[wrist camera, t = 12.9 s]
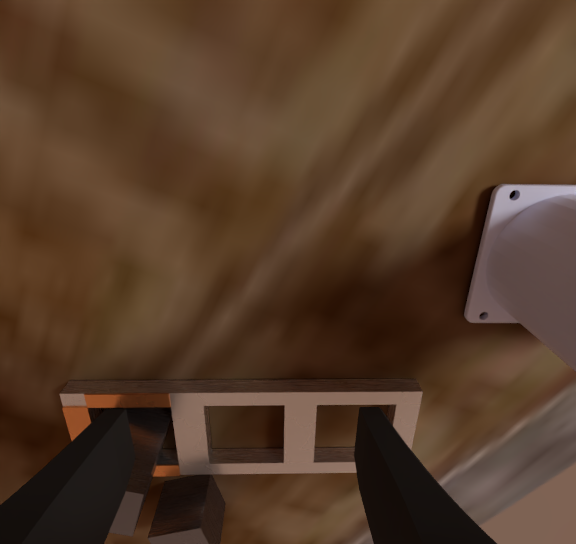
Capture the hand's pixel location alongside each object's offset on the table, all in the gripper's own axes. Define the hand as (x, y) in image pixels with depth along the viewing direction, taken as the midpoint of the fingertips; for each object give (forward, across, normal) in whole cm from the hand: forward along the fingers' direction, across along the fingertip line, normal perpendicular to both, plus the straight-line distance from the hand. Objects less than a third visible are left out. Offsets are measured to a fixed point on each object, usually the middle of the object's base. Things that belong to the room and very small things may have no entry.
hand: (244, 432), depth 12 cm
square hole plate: (+10, +1, +10) cm, 14 cm away
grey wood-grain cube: (+10, +5, +17) cm, 21 cm away
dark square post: (+10, +8, +10) cm, 17 cm away
